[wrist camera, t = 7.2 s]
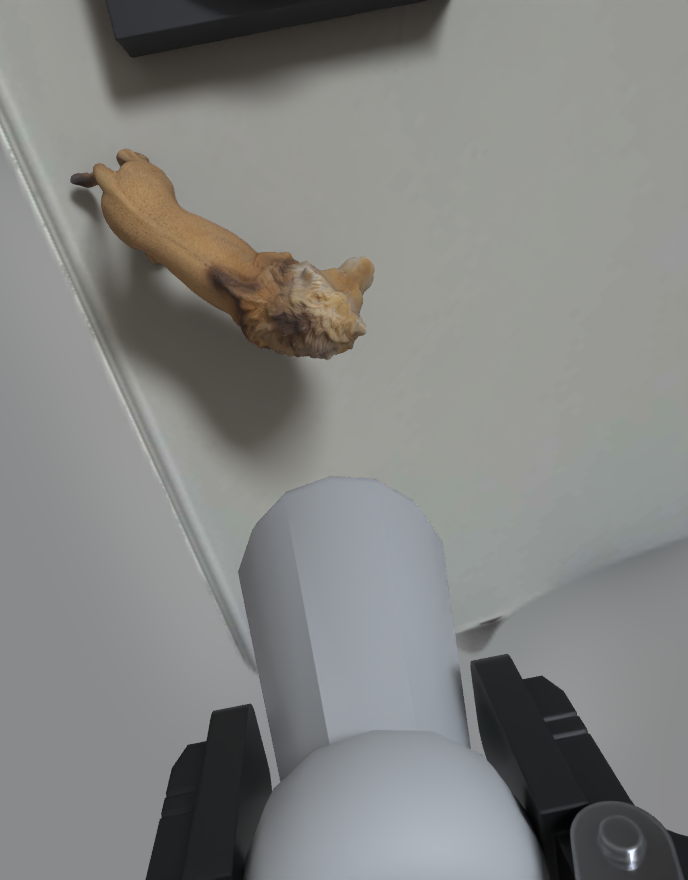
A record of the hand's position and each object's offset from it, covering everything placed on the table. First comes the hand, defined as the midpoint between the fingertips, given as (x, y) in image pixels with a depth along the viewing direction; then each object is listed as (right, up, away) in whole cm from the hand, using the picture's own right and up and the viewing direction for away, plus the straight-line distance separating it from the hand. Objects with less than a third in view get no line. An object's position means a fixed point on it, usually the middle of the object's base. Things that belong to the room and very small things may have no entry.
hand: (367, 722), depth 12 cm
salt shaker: (-1, +2, +8) cm, 8 cm away
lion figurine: (-6, +15, +19) cm, 25 cm away
